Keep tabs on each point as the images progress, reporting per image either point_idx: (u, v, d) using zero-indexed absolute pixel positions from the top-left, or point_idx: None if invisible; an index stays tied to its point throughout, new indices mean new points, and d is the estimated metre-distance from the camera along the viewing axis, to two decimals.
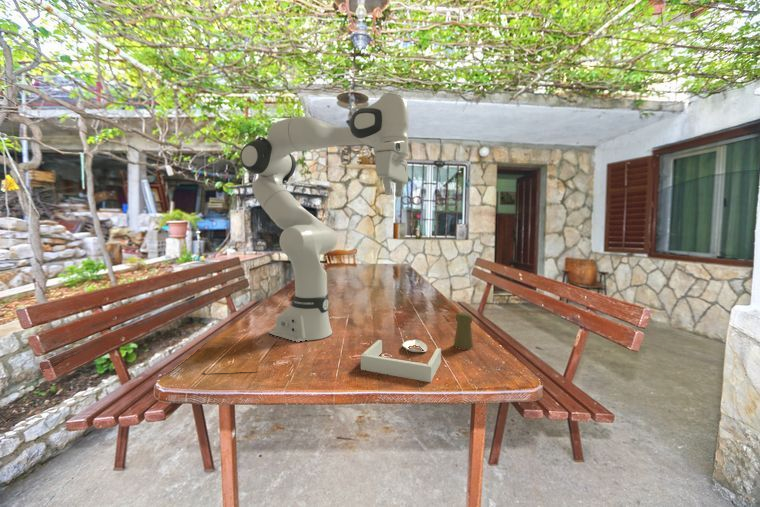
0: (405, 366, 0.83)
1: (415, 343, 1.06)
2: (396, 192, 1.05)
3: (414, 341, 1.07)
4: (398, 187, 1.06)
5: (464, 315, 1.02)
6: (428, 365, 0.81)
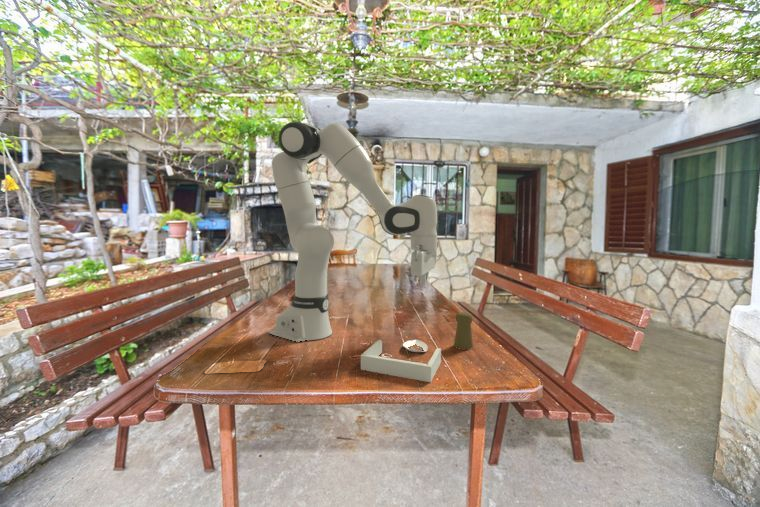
0: (405, 366, 0.83)
1: (415, 343, 1.06)
2: None
3: (415, 341, 1.07)
4: None
5: (464, 315, 1.02)
6: (428, 365, 0.81)
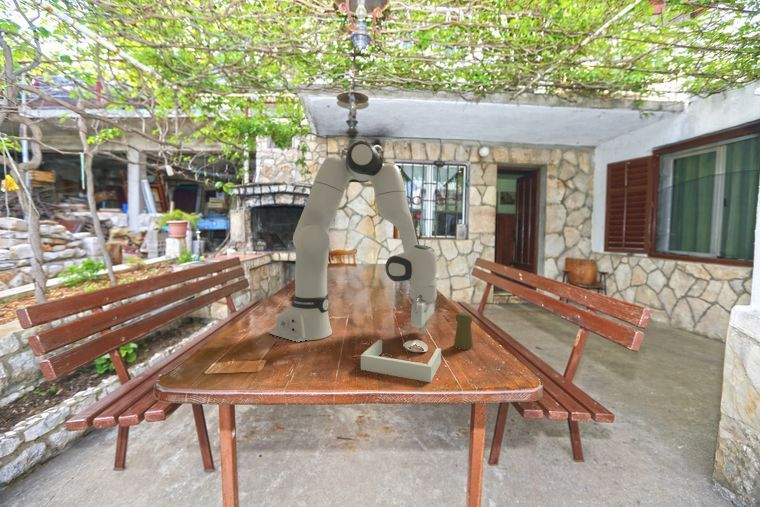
0: (405, 366, 0.83)
1: (416, 343, 1.06)
2: None
3: (415, 341, 1.07)
4: None
5: (464, 315, 1.02)
6: (428, 365, 0.81)
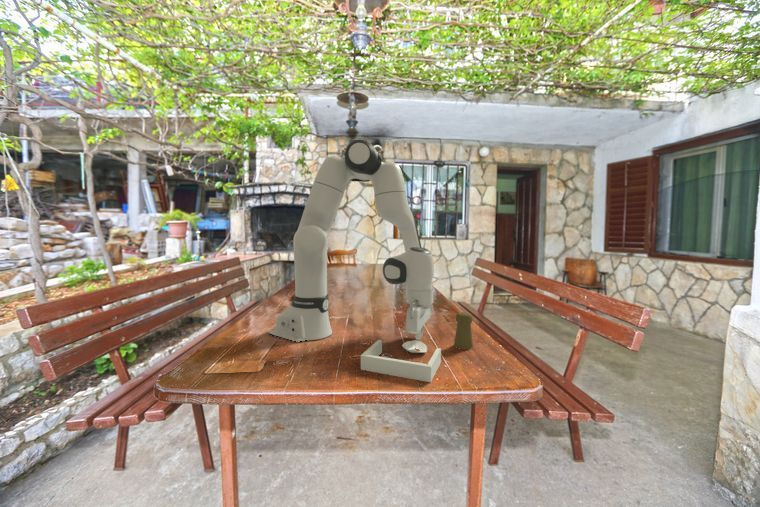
0: (405, 366, 0.83)
1: (415, 344, 1.04)
2: None
3: (414, 342, 1.05)
4: None
5: (464, 315, 1.02)
6: (428, 365, 0.81)
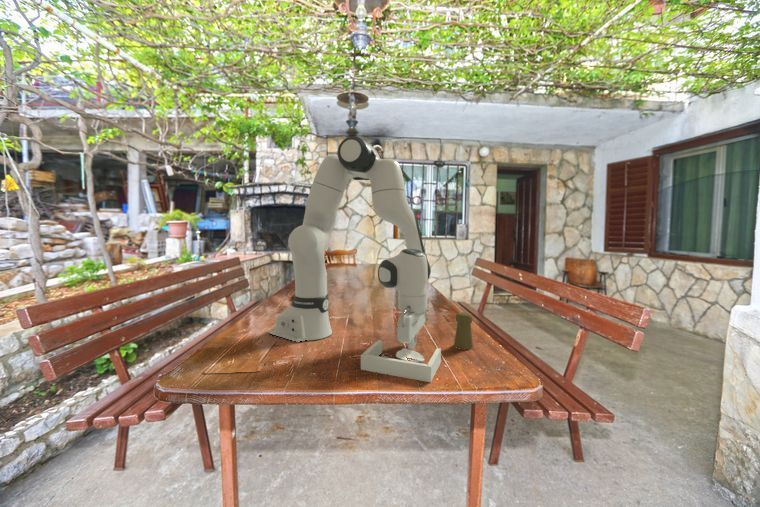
0: (405, 366, 0.83)
1: (405, 353, 0.97)
2: None
3: (403, 351, 0.98)
4: None
5: (464, 315, 1.02)
6: (428, 365, 0.81)
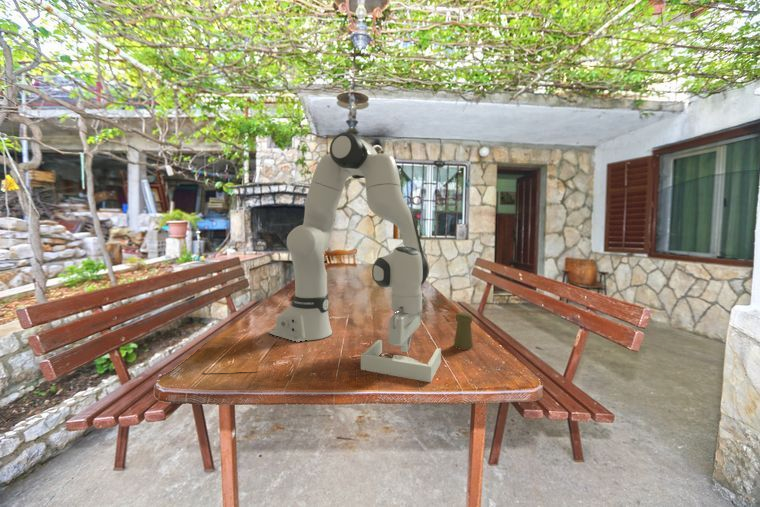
0: (405, 366, 0.83)
1: (398, 359, 0.92)
2: None
3: (395, 358, 0.93)
4: None
5: (464, 315, 1.02)
6: (428, 365, 0.81)
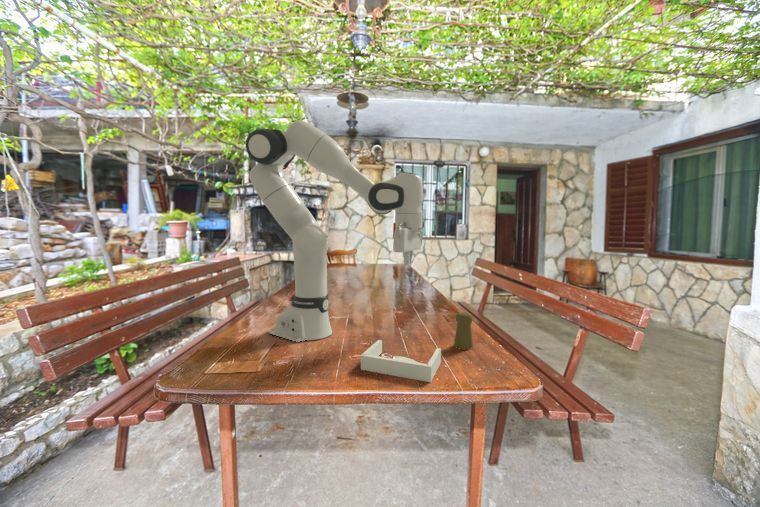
0: (405, 366, 0.83)
1: None
2: None
3: (395, 358, 0.93)
4: None
5: (464, 315, 1.02)
6: (428, 365, 0.81)
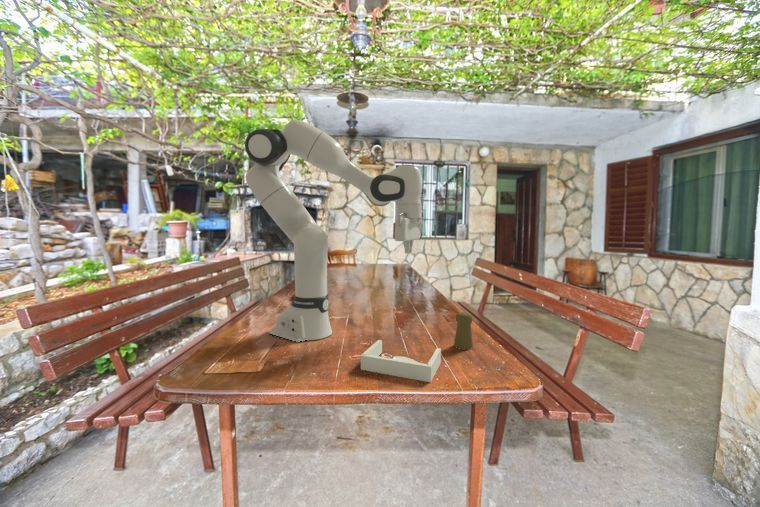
0: (405, 366, 0.83)
1: None
2: None
3: (395, 358, 0.93)
4: None
5: (464, 315, 1.02)
6: (428, 365, 0.81)
